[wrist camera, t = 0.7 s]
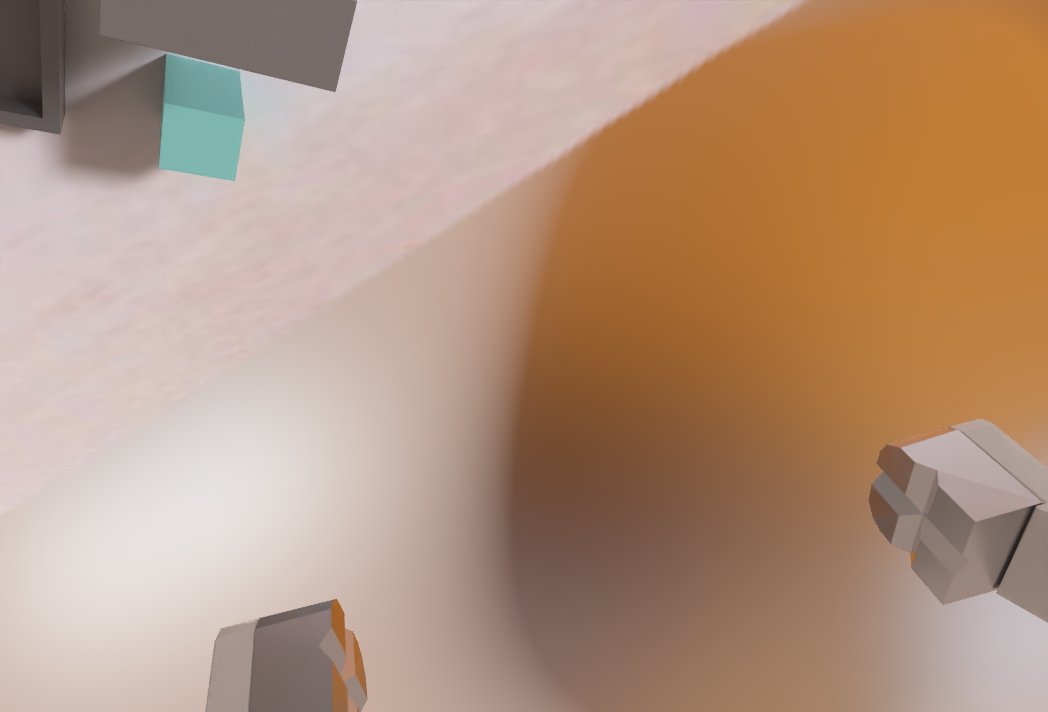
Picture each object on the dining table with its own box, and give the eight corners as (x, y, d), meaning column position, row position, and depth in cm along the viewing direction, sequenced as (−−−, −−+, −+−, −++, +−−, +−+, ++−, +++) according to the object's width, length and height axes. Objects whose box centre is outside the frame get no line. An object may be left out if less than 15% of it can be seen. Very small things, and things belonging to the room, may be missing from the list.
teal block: (166, 53, 41) (164, 103, 37) (239, 71, 43) (244, 119, 39) (161, 116, 44) (159, 168, 40) (230, 130, 46) (234, 181, 42)
